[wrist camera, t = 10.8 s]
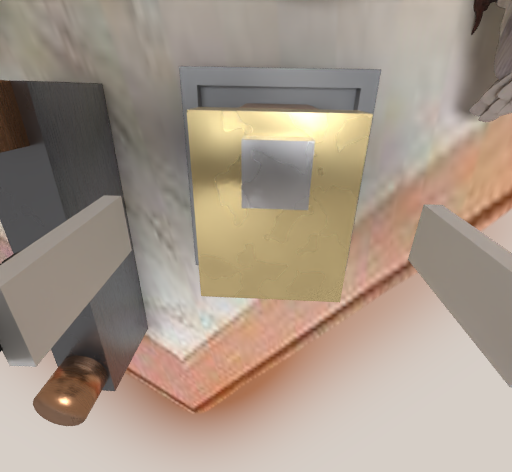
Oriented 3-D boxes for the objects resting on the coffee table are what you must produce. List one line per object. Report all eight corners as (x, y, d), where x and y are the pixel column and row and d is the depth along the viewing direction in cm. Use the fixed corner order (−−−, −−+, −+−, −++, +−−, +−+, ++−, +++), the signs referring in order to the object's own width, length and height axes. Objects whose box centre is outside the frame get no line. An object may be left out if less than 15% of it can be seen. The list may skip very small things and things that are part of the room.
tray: (187, 68, 20) (155, 60, 14) (371, 71, 19) (409, 64, 14) (201, 252, 26) (182, 295, 21) (340, 258, 26) (358, 303, 20)
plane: (45, 82, 21) (-165, 75, 11) (101, 83, 20) (-57, 78, 11) (109, 326, 30) (30, 440, 20) (147, 328, 30) (87, 444, 20)
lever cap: (199, 106, 15) (178, 111, 12) (357, 110, 15) (382, 116, 12) (209, 272, 20) (196, 309, 16) (331, 277, 19) (344, 316, 16)
